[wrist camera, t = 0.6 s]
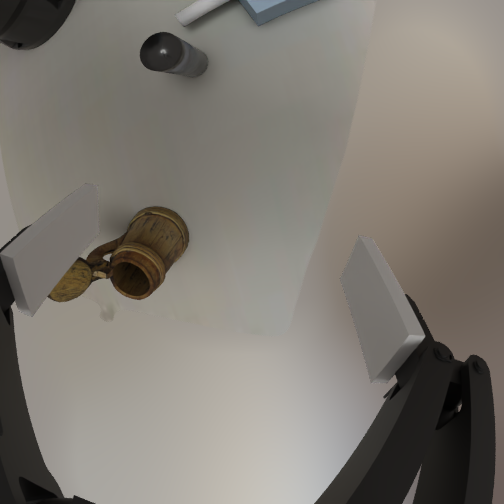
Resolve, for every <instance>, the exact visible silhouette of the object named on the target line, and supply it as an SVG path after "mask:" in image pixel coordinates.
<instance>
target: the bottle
mask: <svg viewBox="0 0 504 504" xmlns="http://www.w3.org/2000/svg"><path fill="white" fill-rule="evenodd" d="M140 59H141V62H142V64H143V65H144V66H145V67H146V68H148V69H150V70H153V71H159V72H166V73H172V74H178V75H183V76H189V77H196V76H199V75H201V74H202V73H203V72H204V71H205V70H206V68H207V66H208V58H207V56H206V55H205V54H204V53H203V52H202V51H200V50H198V49H197V48H195V47H193V46H192V45H190V44H188V43H187V42H185V41H183V40H182V39H180V38H178V37H176V36H174V35H173V34H171V33H167V32H160V33H156V34H154V35H152V36H150V37H149V38H148V39H147V40H146V41H145V42H144V43H143V45H142V47H141V50H140Z"/></svg>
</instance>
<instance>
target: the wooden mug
mask: <svg viewBox="0 0 504 504" xmlns="http://www.w3.org/2000/svg"><path fill="white" fill-rule="evenodd" d="M188 242H189V233H188V230H187V227H186V225H185V223H184V222H183V220H182V218H181V217H179V216H178V215H177V214H176V213H175V212H173V211H171V210H169V209H166V208H162V207H149V208H145V209H143V210H141V211H139V212H138V213H137V214H136V216H135V217H134V218H133V219H132V221H131V222H130V224H129V226H128V229H127V232H126V233H125V234H124V235H123V236H121V237H120V238H118V239H116V240H114V241H111V242H108V243H106V244H104V245H101V246H99V247H97V248H96V249H95V250H93V251H92V252H91V253H90V254H89V255H88V257H87V259H86V260H84V259H83V258H81V257H78V259H77V260H76V261H75V262H74V263H73V265H72V266H71V267H70V268H69V269H68V271H67V272H66V273H65V274H64V276H63V277H62V278H61V279H60V281H59V282H58V283H57V285H56V286H55V287H54V288H53V290H52V291H51V292H50V294H49V295H48V296H47V297H48V298H50V299H52V300H54V301H57V302H66V301H69V300H72V299H74V298H77V297H78V296H80V295H81V294H82V293H83V292H84V291H85V290H86V289H87V288H88V287H89V286H90V284H91V283H92V282H93V281H96V280H98V279H102V278H106V279H108V278H110V279H111V282H112V284H113V286H114V287H115V289H116V290H117V291H118V292H120V293H121V294H122V295H124V296H126V297H129V298H131V299H137V300H141V299H144V298H146V297H148V296H150V295H151V294H152V293H153V291H155V290H156V289H157V288H158V287H159V286H160V285H161V284H162V283H163V281H164V279H165V274H166V273H167V271H168V270H169V269H170V267H171V266H172V265H173V263H174V262H176V261H177V260H178V259H179V258H180V257H181V256H182V254H183V253H184V251H185V250H186V248H187V246H188ZM107 254H112V255H111V257H110V262H109V261H106V260H104V259H103V257H104V255H107Z"/></svg>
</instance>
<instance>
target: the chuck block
mask: <svg viewBox="0 0 504 504" xmlns="http://www.w3.org/2000/svg"><path fill="white" fill-rule="evenodd" d="M228 1H230V0H198V1H196V2H194V3H193V4H191V5H189V6H188V7H186V8H185V9H183V10H181V11H180V12H178V13H177V14H175V16H176V18H177V19H178V20H179V22H180V23H181V24H182V25H183V26H184V27H185V26H186V25H188V24H190V23H191V22H193V21H194V20H196V19H198V18H199V17H201V16H203V15H204V14H206V13H208V12H210V11H211V10H213V9H215V8H217V7H218V6H220V5H222V4H224V3H226V2H228ZM239 1H240V3H241V4H242V5H243V6H244V8H245V9H246V10H247V12H248V13H249V14H250V16H251V17H252V18H253V20H254V21H255V22H256V24H257V25H258V26H260V25H262V24H264V23H266V22H268V21H270V20H272V19H274V18H277V17H279V16H281V15H283V14H286V13H288V12H290V11H293V10H295V9H298V8H300V7H302V6H305V5H308V4H310V3H313V2H316V1H318V0H239Z"/></svg>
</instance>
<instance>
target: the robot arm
mask: <svg viewBox="0 0 504 504" xmlns="http://www.w3.org/2000/svg"><path fill="white" fill-rule="evenodd" d="M74 1H75V0H0V43H2V44H4V45H6V46H8V47H10V48H12V49H17V50H26V49H32V48H35V47H37V46H39V45H41V44H43V43H44V42H45V41H47V40H48V39H49V38H50V37H51V36H52V35H53V34H54V33H55V32H56V31H57V30H58V29H59V27H60V26H61V25H62V24H63V22H64V21H65V19H66V18H67V16H68V14H69V12H70V10H71V8H72V6H73V4H74ZM99 233H100V228H99V209H98V185H94V184H87V183H85V184H84V185H83V186H81V187H80V188H78V189H77V190H76V191H74V192H73V193H71V194H70V195H69V196H67V197H66V198H65V199H63V200H62V201H61V202H59V203H58V204H57V205H56V206H54V207H53V208H52V209H50V210H49V211H48V212H47V213H45V214H44V215H43V216H42V217H40V218H39V219H38V220H37V221H36V222H34V223H33V224H31V225H29V226H27V227H25V228H24V229H22V230H21V231H20V232H19V233H18V234H17V235H16V236H15V237H13V238H12V239H11V241H9V242H8V243H7V244H5V245H4V246H3V247H2V248H1V249H0V504H95V503H92V502H90V501H87V500H85V499H82V498H80V497H78V496H75V495H74V497H73V499H72V498H64V496H63V494H62V492H61V490H60V487H59V486H58V484H57V482H56V481H55V479H54V477H53V476H52V475H51V473H50V472H49V471H48V469H47V467H46V465H45V463H44V460H43V458H42V455H41V452H40V449H39V446H38V443H37V440H36V437H35V434H34V430H33V427H32V424H31V421H30V416H29V413H28V409H27V405H26V400H25V396H24V391H23V387H22V381H21V376H20V370H19V365H18V358H17V350H16V342H15V333H14V322H13V312H12V309H11V305H12V303H13V302H14V301H15V302H16V305H17V307H18V310H19V312H21V313H24V314H26V315H28V316H31V317H33V316H34V314H35V313H36V311H37V310H38V309H39V307H40V306H41V304H42V303H43V302H44V300H45V299H46V297H47V296H48V295H49V294H50V292H51V291H52V290H53V288H54V287H55V286H56V285H57V283H58V282H59V281H60V279H61V278H62V277H63V276H64V274H65V273H66V272H67V271H68V269H69V268H70V267H71V266H72V265H73V263H74V262H75V261H76V260H77V259H78V257H79V256H80V255H81V254H82V253H83V252H84V250H85V249H86V248H87V247H88V246H89V245H90V243H91V242H92V241H93V240H94V239H95V238H96V237H97V236H98V234H99ZM340 281H341V284H342V286H343V290H344V293H345V295H346V299H347V302H348V305H349V308H350V311H351V315H352V318H353V321H354V324H355V327H356V331H357V334H358V338H359V341H360V345H361V348H362V352H363V355H364V359H365V363H366V366H367V369H368V373H369V378H370V381H371V383H388V381H389V380H390V379H391V378H392V377H393V376H394V375H396V378H397V381H398V382H397V383H396V384H395V385H394V386H393V387H392V388H391V389H390V390H389V391H388V392H387V393H386V394H385V396H384V398H386V397H387V396H388V397H387V399H386V401H385V402H384V404H383V406H382V408H381V409H380V411H379V413H378V415H377V416H376V418H375V420H374V421H373V423H372V425H371V426H370V428H369V430H368V431H367V433H366V434H365V436H364V437H363V439H362V441H361V442H360V444H359V445H358V447H357V448H356V450H355V451H354V453H353V454H352V455H351V457H350V458H349V460H348V461H347V463H346V464H345V465H344V467H343V468H342V469H341V471H340V472H339V474H338V475H337V476H336V477H335V479H334V480H333V481H332V483H331V484H330V485H329V487H328V488H327V489H326V490H325V491H324V493H323V494H322V495H321V496H320V498H319V499H318V500H317V501H316V502H315V503H314V504H402V503H403V501H404V499H405V497H406V495H407V493H408V492H409V489H410V487H411V485H412V484H413V481H414V479H415V477H416V475H417V473H418V471H419V469H420V466H421V464H422V466H421V471H420V476H419V480H418V485H417V489H416V493H415V497H414V500H413V504H492V497H493V488H494V475H495V416H494V404H493V393H492V385H491V377H490V371H489V368H488V366H487V364H486V362H485V361H484V360H483V359H482V358H480V357H479V356H477V355H470V357H469V358H468V359H467V360H466V361H465V362H461V361H458V360H455V359H454V356H453V354H452V352H451V351H450V349H449V348H448V347H447V346H445V345H444V344H442V343H440V342H436V341H434V339H433V337H432V335H431V333H430V331H429V329H428V327H427V325H426V323H425V321H424V320H423V317H422V315H421V313H419V309H418V307H417V306H416V304H415V302H414V301H413V300H412V299H411V298H410V297H409V296H408V295H407V294H404V292H403V291H402V289H401V287H400V285H399V283H398V281H397V280H396V278H395V276H394V274H393V272H392V271H391V269H390V267H389V266H388V264H387V262H386V260H385V259H384V257H383V255H382V254H381V252H380V250H379V249H378V247H377V246H376V244H375V242H374V240H373V239H372V238H370V237H366V236H361V235H359V236H358V238H357V241H356V243H355V246H354V248H353V251H352V253H351V255H350V257H349V260H348V262H347V265H346V267H345V269H344V272H343V273H342V276H341V278H340ZM461 404H462V407H461V410H460V411H459V412H458V406H460V405H461Z"/></svg>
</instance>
